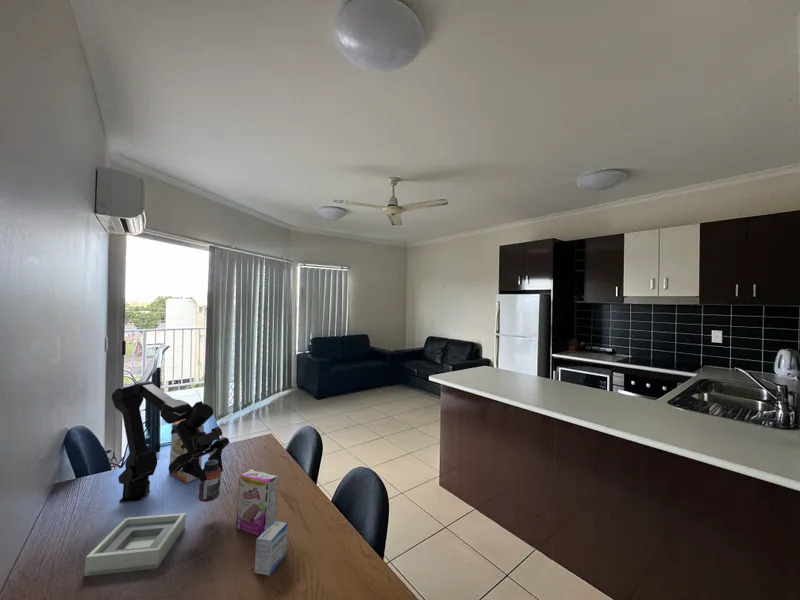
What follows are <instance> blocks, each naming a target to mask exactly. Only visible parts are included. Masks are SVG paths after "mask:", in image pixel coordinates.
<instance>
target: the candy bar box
mask: <svg viewBox="0 0 800 600" xmlns="http://www.w3.org/2000/svg"><path fill="white" fill-rule="evenodd" d="M238 481H239V482H238V492H237V493H238V494H237V495H238V497H237V508H236V509H237V510H236V522H235V523H236V524H235V530H237V531H242V532H244V533H247V534H250V535H253V536H256V537H259V536H260V535H261V534H262V533H263V532H264V531H265V530H266V529H267V528H268V527H269V526H270V525H271V524H272V523H273V522H274V521H276V517H277V516H276V515H277V514H276V513H277V500H278V487H279V486H278V482H279V476H278V475H275V474H271V473H266V472H264V471H259V470H255V469H252V468H251V469H249V470H247V471H245V472H243V473H240V475H239V480H238Z"/></svg>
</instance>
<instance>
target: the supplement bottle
mask: <svg viewBox="0 0 800 600" xmlns="http://www.w3.org/2000/svg"><path fill="white" fill-rule="evenodd" d="M218 463H219V461H218V460H207V461H206V462H204V465H203V468H202V470H203V472H204V474H205V476H206V478H207V480H206V481H204V482H203V481H202V480H200V479H199V483H198V484H199V485H198V486H199V487H198V495H197V496H198V497H197V498H198V501H200V502H202V503H208V502H212V501H214V500H216V499H217V498H219V496H220V491H221V490H220V489H221V478H222V477H221V476H222V472H221V468H220V467H219V466H218V465H219V464H218Z"/></svg>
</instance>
